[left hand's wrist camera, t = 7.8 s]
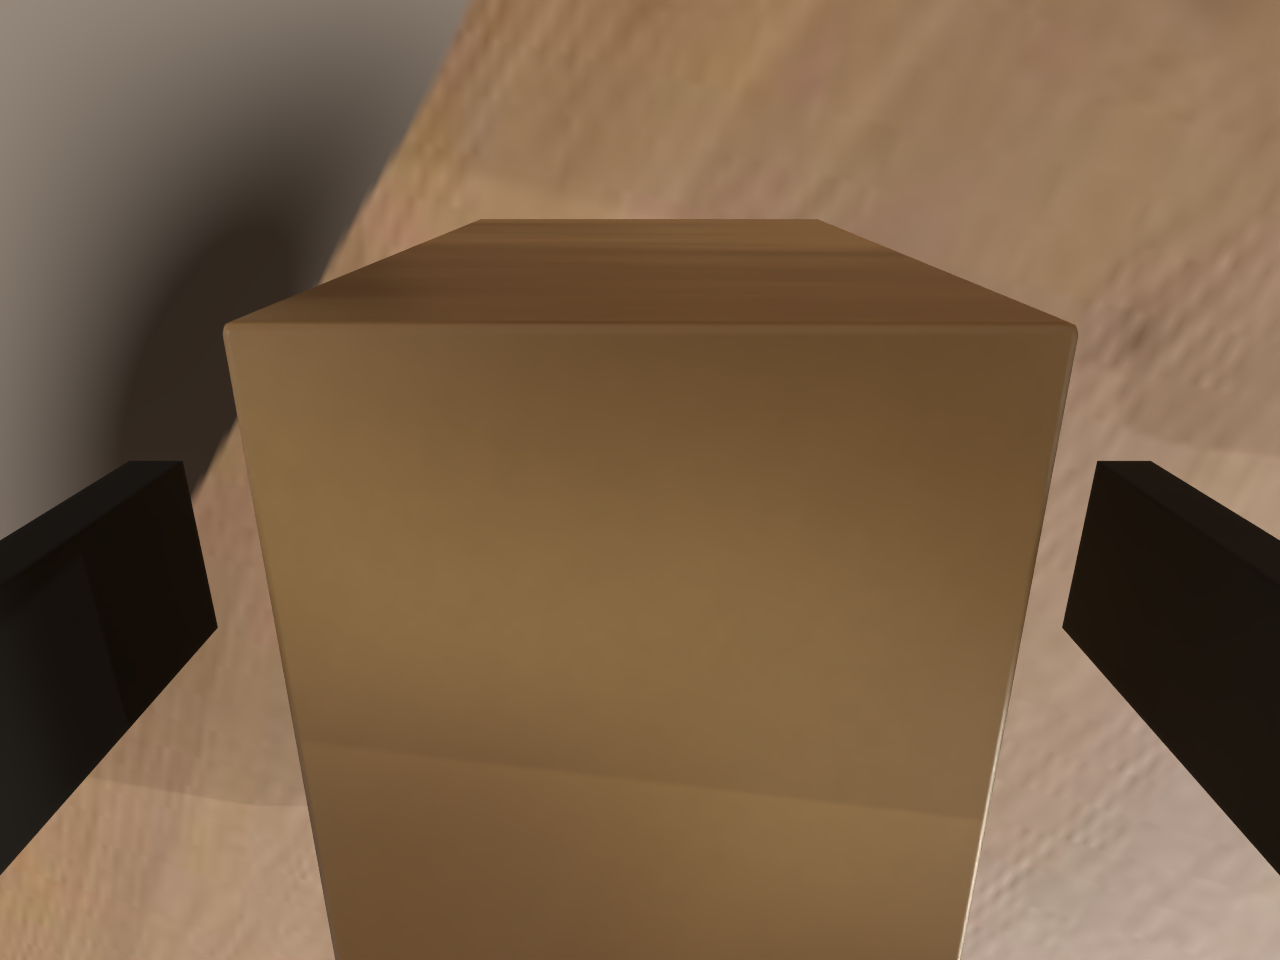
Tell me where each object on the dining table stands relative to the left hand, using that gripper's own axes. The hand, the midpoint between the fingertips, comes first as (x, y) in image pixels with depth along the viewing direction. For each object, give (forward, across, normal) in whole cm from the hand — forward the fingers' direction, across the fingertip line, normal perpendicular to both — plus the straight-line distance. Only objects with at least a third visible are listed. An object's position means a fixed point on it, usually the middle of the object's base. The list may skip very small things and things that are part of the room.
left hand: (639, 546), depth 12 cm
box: (+5, 0, -8) cm, 9 cm away
